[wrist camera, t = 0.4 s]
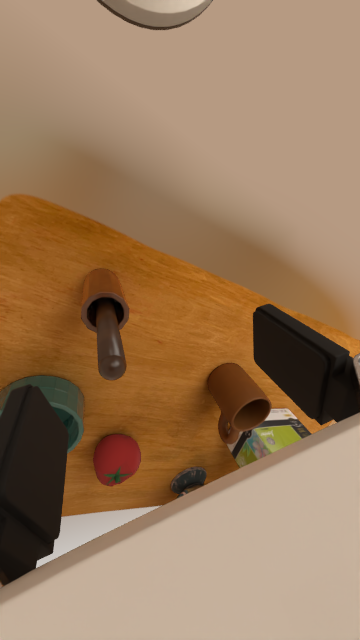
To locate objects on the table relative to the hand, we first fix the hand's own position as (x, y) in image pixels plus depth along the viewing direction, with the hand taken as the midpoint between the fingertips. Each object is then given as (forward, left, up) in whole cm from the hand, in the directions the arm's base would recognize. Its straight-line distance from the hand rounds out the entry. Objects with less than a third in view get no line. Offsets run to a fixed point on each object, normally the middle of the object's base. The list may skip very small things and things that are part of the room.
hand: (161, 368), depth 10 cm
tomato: (+19, -28, -23) cm, 41 cm away
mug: (+30, -9, -23) cm, 39 cm away
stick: (+1, -4, -22) cm, 23 cm away
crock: (+1, -4, -23) cm, 23 cm away
